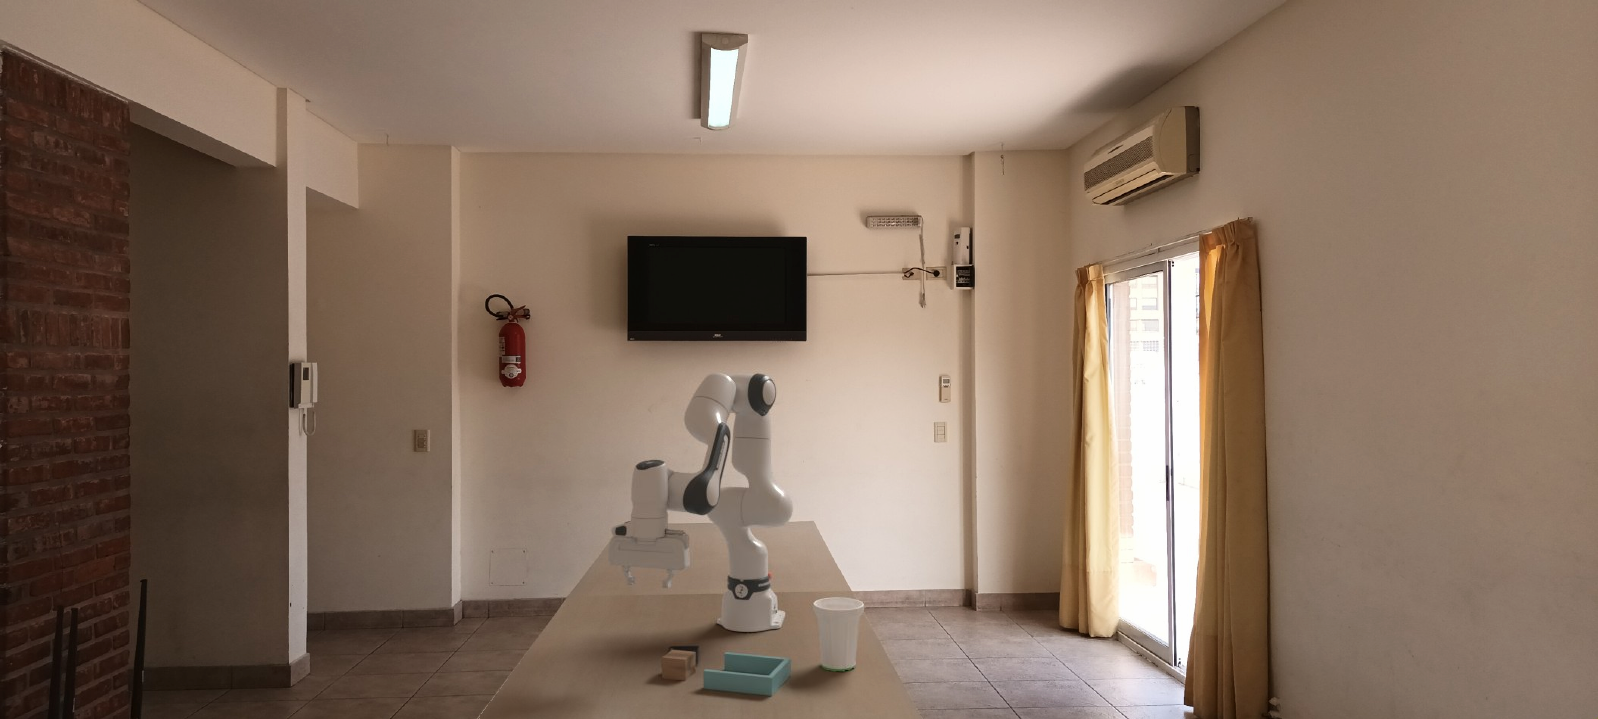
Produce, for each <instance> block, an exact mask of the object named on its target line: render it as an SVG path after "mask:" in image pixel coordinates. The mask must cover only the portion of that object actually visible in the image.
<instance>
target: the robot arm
mask: <svg viewBox="0 0 1598 719" xmlns="http://www.w3.org/2000/svg"><path fill="white" fill-rule="evenodd" d="M776 397H777V387H776V384H775V382H774V380H773V379H772V378H771V376H769V375H766V374H764V373H763V374H762V373H749V372H747V373H745V372H736V373H730V374H729V373H728V374H725V373H723V372H712V373H710V374H708V375H706V377H704V379H703V380H702V381H701V383H700V384H699V385H698V387H697V388H696V390H695V391H694V393H693V394H692V397H691V399H690V400H689V403H688V405H687V407H686V409H685V412H684V418H683V420H684V426H685V428H686V430H687V431H688V433H689V434H690V435H691V436H692V437H693V438H694V439H696V441H698V442H701V443H703V444H704V445H706V446H707V449H706V453H705V457H704V460H703V462H702V468H700V470H699V471H697V472H692V473H691V472H679V471H675V470H672V469H671V468H668V467H667V464H666V462H665V461H664V460H662V459H649V460H643V461H641V462H638V463H637V464H636V465H635V466H634V469H633V472H632V479H631V488H630V489H631V490H630V491H631V492H630V494H631V496H630V497H631V498H630V499H631V503H632V510H631V513H630V520H629V521H625V522H624V523H621V524H617V525H615V526H613V527H611V536H612V537H611V538H610V540H609V544H608V553H607V561H608V563H609V564H610V566H616V567H617V566H618V567H621V572H622V573H623V574H624V577H625V578H626V582H625V584H626V585H627V586H634V585H635V584H636V576H633V575H632V573H631V571H630V570H631V569H632V568H643V569H644V568H646V569H660V570H666V575H667V577H666V578H665V579H663V580H661V581H662V582H661V584H662V585H661V586H662V588H663V589H671V586H672V579H673V578H674V575H675V574H676V571H683V570H686V569H687V568H688V567H690V563H691V558H690V548H689V545H690V536H689V534H688V533H687V532H685V531H684V530H681V529H668V528H669V514H668V511H671V512H672V511H673V512H678V513H688V514H693V515H697V516H707V517H708V520H709V521H710V522H712V523H713V524H714V525H715V527H717V528H718V530H719V531H720V533H721V534H722V536H723V538H724V541H725V543H726V547H727V548H726V549H727V554H728V555H727V556H728V557H727V558H728V575H727V579H726V586H727V591H726V592H725V593H723V594H722V595H723V596H722V603H721V617H719V618H717V619H716V624H718V625H720V626H722V627H723V628H724V629H725V630H729V631H733V632H740V633H743V632H744V633H745V632H746V633H750V632H751V633H753V632H755V633H756V632H762V631H768V630H775V629H776V630H777V629H781V627H782V625H783V622H784V620H785V617H786V612H785V611H783V610H780V609H778V596H777V594H775V593H774V591H773V589H771V580H772V576H773V575H772V572H769V551H768V548H767V546H766V544H765V543H764V542H762V541H761V540H760V539H758V538H757V537H755V535H753V532H752V531H751V528H766V529H769V528H770V529H771V528H777V527H783V526H785V525H786V524H787V523H788V522H790V519H792V516H793V512H794V506H793V500H792V499H791V497H790V495H789V493H788V492H787V491H785V490H784V489H783V488H782V487H781V486H780V484H779V483H778V482H777V479H776V478H775V475H774V473H773V468H772V453H771V452H772V449H771V447H772V423H771V414H770V410H771V409H772V407H773V405H774V404H775V402H776V399H777V398H776ZM731 413H732V414H734V415H735V418H734V422H733V429H732V436H731V430H730V428H729V426H728V424H727V421H728V419H729V417H730V415H731ZM731 437H732V442H731ZM731 443H732V444H731ZM730 444H731V465H732V467H733V468H734V469H735V470H736V471H737V472H738V473H739V474H742V475H743V476H745V478H746V480H747V482H748V487H745V486H744V487H741V486H724V487H721V484H722V478H723V476H724V475H723V474H724V471H725V466H726V462H727V458H728V454H729V450H730Z"/></svg>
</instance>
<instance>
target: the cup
mask: <svg viewBox="0 0 1598 719" xmlns="http://www.w3.org/2000/svg"><path fill="white" fill-rule="evenodd" d="M812 605H813V606H812V609H813V612H814V614H815V615H816V617H817V618H816V619H817V629H818V638H819V648H820V659H821V662H820V664H821V665H820V666H821V668H822V669H823V670H826V671H829V670H831V671H830V672H836V671H843V672H846V671H845V670H849V671H851V670H850V669H852V668H854V667H855V668H856V666H855V665H856V664H857V663H856V659H857V650H858V641H859V640H858V638H859V630H860V620H861V616H862V614H863V613H864V611H865V604H864V602H863V601H861V600H858V599H855V598H850V597H840V596H838V597H826V598H820V599H817V600H815V601H813V604H812ZM855 668H854V669H855ZM852 670H853V669H852Z"/></svg>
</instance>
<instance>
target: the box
mask: <svg viewBox="0 0 1598 719" xmlns="http://www.w3.org/2000/svg"><path fill="white" fill-rule="evenodd" d="M723 656H724V657H723V658H724V660H723V661H724V662H723V663H724V664H723V666H724V668H723V669H724V670H717V669H709V668H708V669H707V668H705V669H704V670H703V683H702V684H703V685H702V686H703V687H702V688H703V690H704V689H705V690H714V691H723V692H724V691H725V692H733V693H740V694H741V693H743V694H751V695H761V696H769V697H770V696H771V697H773V695H775V694H776V692H777V691H778V690H779V689H780V688H781V687H782V686H783V685H784V683H786V681H787V680H788V679H789V678H790V677H791V676H792V658H791V657H790V658H789V657H780V656H769V655H759V654H748V653H739V652H727V651H726V652H725V653H724V654H723ZM790 675H791V676H790ZM789 676H790V677H789ZM788 677H789V678H788ZM780 686H781V687H780Z"/></svg>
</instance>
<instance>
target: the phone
mask: <svg viewBox="0 0 1598 719" xmlns="http://www.w3.org/2000/svg"><path fill="white" fill-rule="evenodd" d="M700 648H701V647H700V645H699V646H698V645H674V646H673V645H672V646H670V647H669V648H668V650H667V651H668V652H667V653H669V652H670V651H672V650H680V651H691V652H696V668H697V667H698V664H699V658H700V656H699V655H700Z"/></svg>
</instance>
